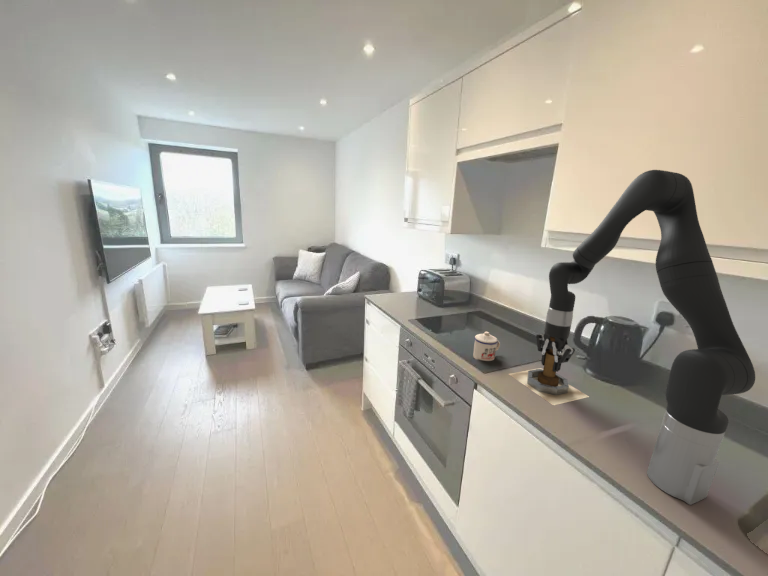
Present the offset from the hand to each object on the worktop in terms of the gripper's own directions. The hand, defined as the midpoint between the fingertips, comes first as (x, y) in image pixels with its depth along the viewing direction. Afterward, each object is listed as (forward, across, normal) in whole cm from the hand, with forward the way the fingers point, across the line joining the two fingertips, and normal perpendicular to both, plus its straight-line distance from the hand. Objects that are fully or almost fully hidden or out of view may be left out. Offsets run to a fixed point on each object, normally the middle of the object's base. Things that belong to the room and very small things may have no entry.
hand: (549, 367), depth 106 cm
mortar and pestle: (+6, 0, 0) cm, 6 cm away
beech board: (+8, 0, 0) cm, 8 cm away
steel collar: (+7, 0, 0) cm, 7 cm away
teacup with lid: (+8, +25, +6) cm, 27 cm away
